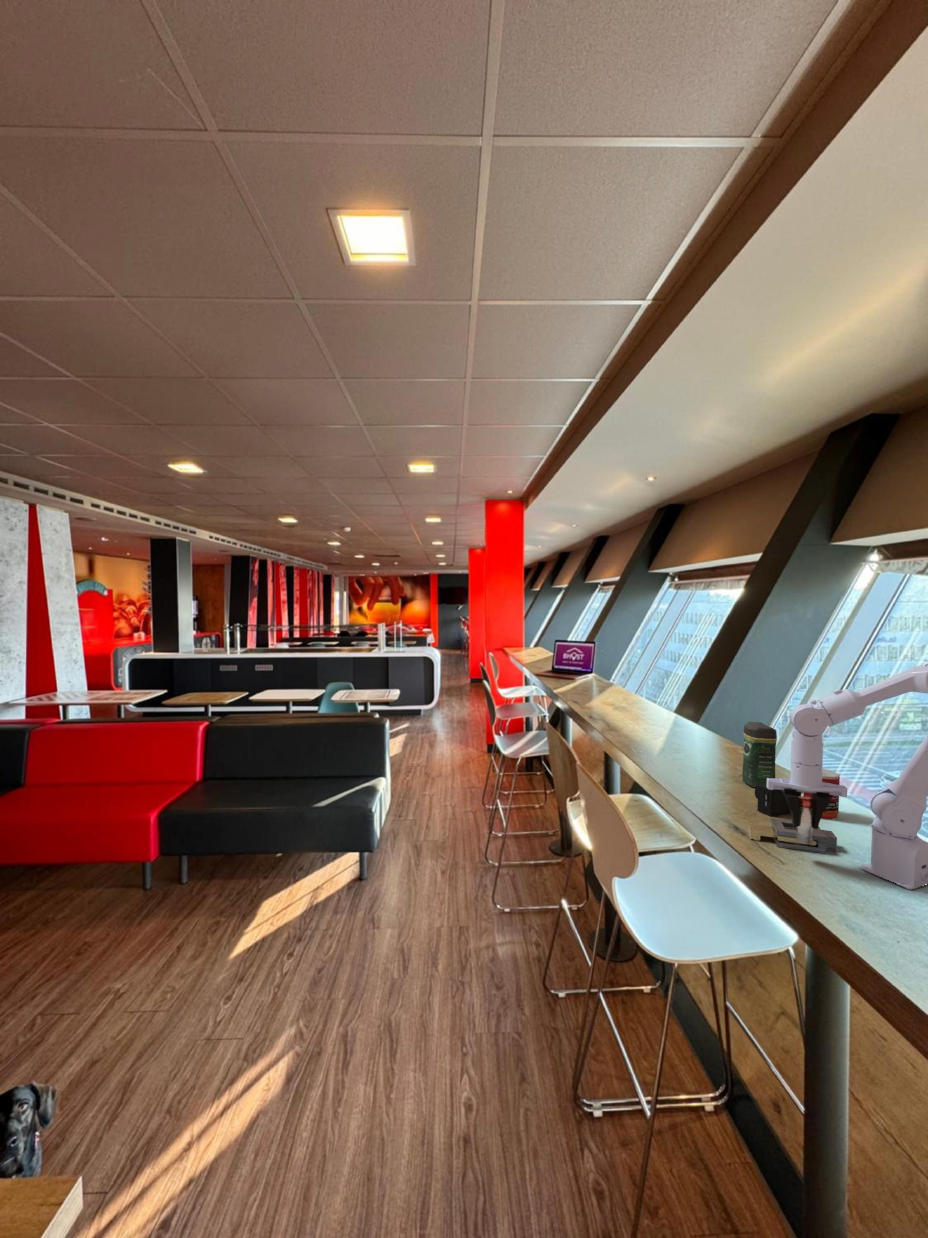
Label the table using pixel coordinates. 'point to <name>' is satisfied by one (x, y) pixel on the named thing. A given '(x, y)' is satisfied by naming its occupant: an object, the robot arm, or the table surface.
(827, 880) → the table surface
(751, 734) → the coffee jar
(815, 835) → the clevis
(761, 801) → the digital camera
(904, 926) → the table surface
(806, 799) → the clear red-capped cylinder
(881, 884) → the table surface
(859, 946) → the table surface
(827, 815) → the canned food
